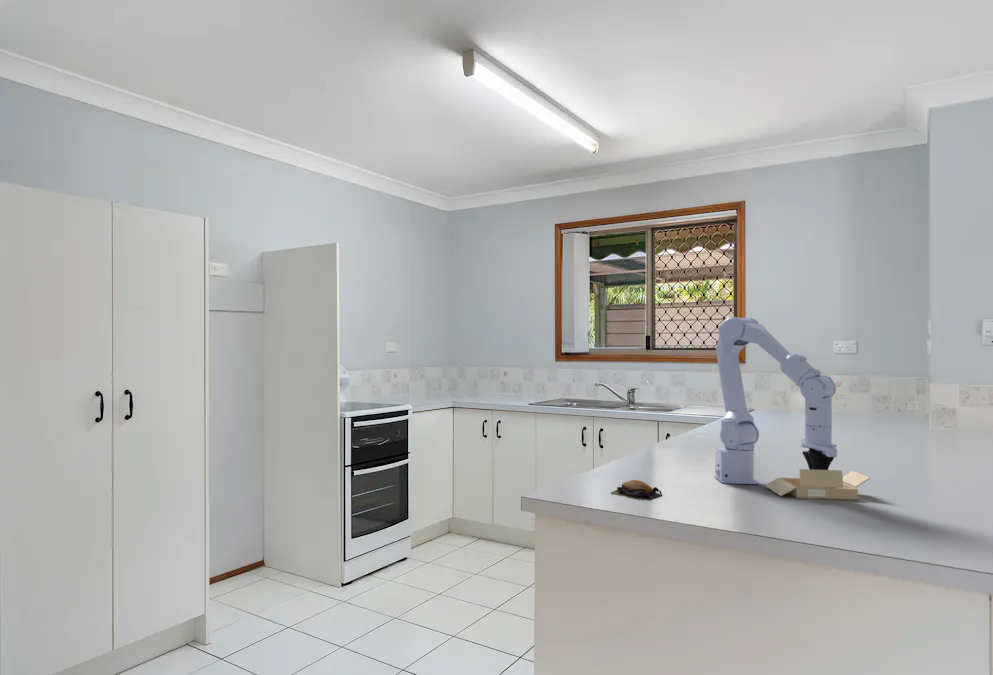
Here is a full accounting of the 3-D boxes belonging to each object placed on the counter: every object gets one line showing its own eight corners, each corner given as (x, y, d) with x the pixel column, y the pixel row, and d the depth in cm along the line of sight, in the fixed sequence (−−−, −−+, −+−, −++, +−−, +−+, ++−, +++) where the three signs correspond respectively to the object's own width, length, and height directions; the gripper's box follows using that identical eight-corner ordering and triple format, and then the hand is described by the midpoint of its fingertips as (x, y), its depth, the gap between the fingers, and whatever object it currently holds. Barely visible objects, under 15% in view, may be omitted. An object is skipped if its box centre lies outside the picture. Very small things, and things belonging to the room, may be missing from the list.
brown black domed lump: (608, 496, 148) (608, 480, 148) (624, 489, 155) (624, 475, 155) (650, 503, 141) (650, 487, 141) (665, 496, 148) (665, 481, 148)
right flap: (869, 477, 146) (870, 478, 146) (852, 470, 154) (853, 471, 154) (855, 486, 147) (856, 487, 147) (839, 479, 155) (839, 480, 155)
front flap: (800, 486, 146) (800, 486, 146) (799, 469, 147) (799, 469, 147) (842, 487, 146) (843, 487, 145) (841, 470, 146) (842, 470, 146)
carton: (780, 497, 146) (781, 487, 146) (758, 483, 161) (758, 474, 161) (858, 500, 145) (858, 489, 145) (828, 486, 160) (828, 476, 160)
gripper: (850, 429, 141) (850, 489, 140) (821, 422, 155) (821, 476, 155) (818, 429, 141) (818, 488, 141) (792, 421, 156) (792, 475, 155)
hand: (818, 481), depth 148 cm, fingers closed
